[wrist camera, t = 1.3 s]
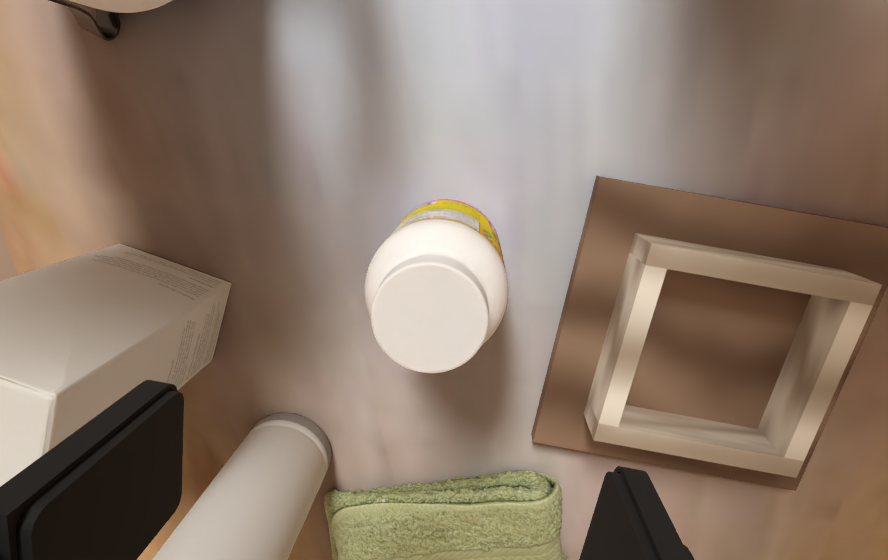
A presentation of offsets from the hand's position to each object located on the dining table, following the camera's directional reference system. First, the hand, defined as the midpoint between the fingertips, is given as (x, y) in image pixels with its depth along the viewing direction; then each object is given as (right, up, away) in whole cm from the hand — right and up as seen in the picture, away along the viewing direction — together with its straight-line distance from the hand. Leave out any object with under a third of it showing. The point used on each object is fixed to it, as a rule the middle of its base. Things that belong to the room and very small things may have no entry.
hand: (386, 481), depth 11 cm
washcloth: (+2, -16, +28) cm, 32 cm away
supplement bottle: (+1, +6, +21) cm, 22 cm away
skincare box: (-17, +3, +24) cm, 30 cm away
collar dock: (+18, +1, +22) cm, 28 cm away
